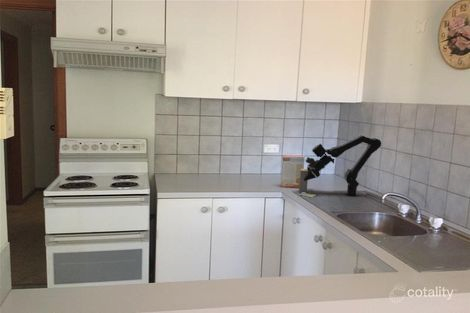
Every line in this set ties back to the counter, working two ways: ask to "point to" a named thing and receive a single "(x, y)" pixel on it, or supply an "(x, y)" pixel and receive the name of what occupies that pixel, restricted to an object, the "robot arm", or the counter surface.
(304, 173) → the chute block
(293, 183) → the cracker box
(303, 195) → the green floppy disk
